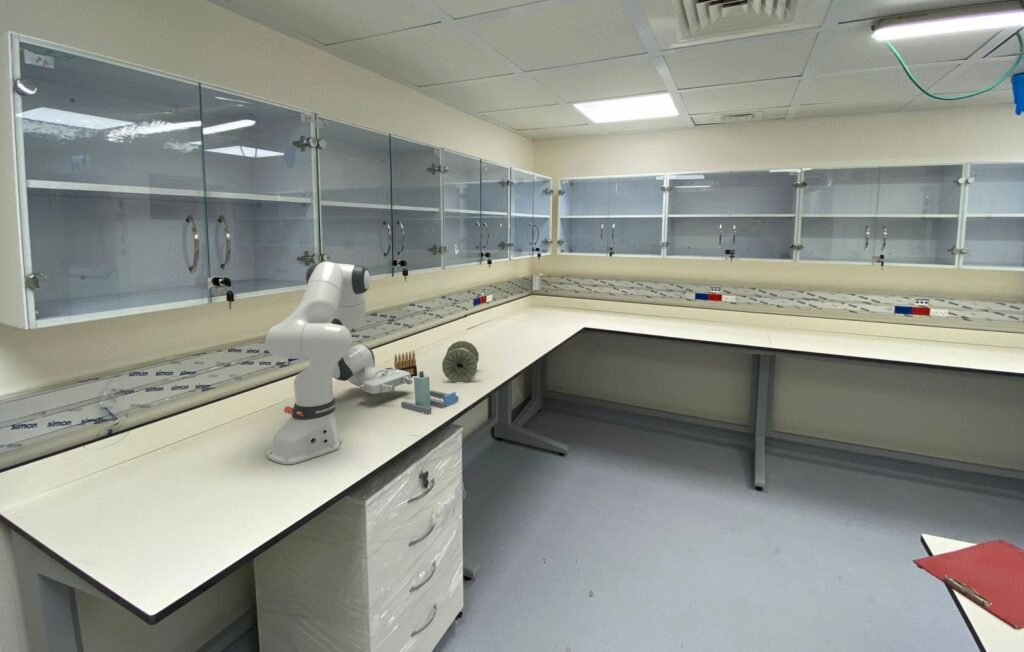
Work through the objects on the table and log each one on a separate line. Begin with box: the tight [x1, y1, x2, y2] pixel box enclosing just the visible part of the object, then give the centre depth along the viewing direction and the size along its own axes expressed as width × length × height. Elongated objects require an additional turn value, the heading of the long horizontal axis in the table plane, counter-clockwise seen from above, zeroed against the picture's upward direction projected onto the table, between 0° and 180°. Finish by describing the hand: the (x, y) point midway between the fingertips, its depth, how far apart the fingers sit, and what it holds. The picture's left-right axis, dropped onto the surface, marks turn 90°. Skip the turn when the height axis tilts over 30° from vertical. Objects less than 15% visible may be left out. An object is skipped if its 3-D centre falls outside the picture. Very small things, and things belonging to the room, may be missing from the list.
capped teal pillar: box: [413, 370, 431, 408], centre depth 194 cm, size 4×4×14 cm
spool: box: [441, 340, 480, 383], centre depth 232 cm, size 16×15×15 cm
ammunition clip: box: [394, 350, 418, 378], centre depth 232 cm, size 11×2×12 cm, turn 129°
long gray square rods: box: [400, 389, 459, 415], centre depth 198 cm, size 17×14×4 cm
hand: (402, 385), depth 200 cm, fingers open, 8 cm apart
